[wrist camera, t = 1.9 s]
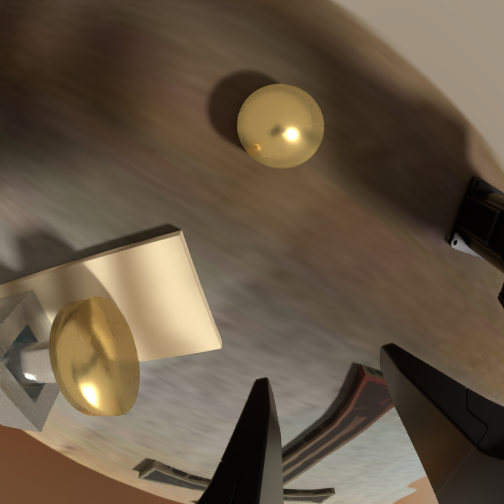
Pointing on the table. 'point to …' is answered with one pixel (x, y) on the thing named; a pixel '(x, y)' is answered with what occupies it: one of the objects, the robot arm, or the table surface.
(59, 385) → the shaft
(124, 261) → the board
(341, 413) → the cross
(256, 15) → the table surface
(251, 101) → the spacer
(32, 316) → the bearing block
